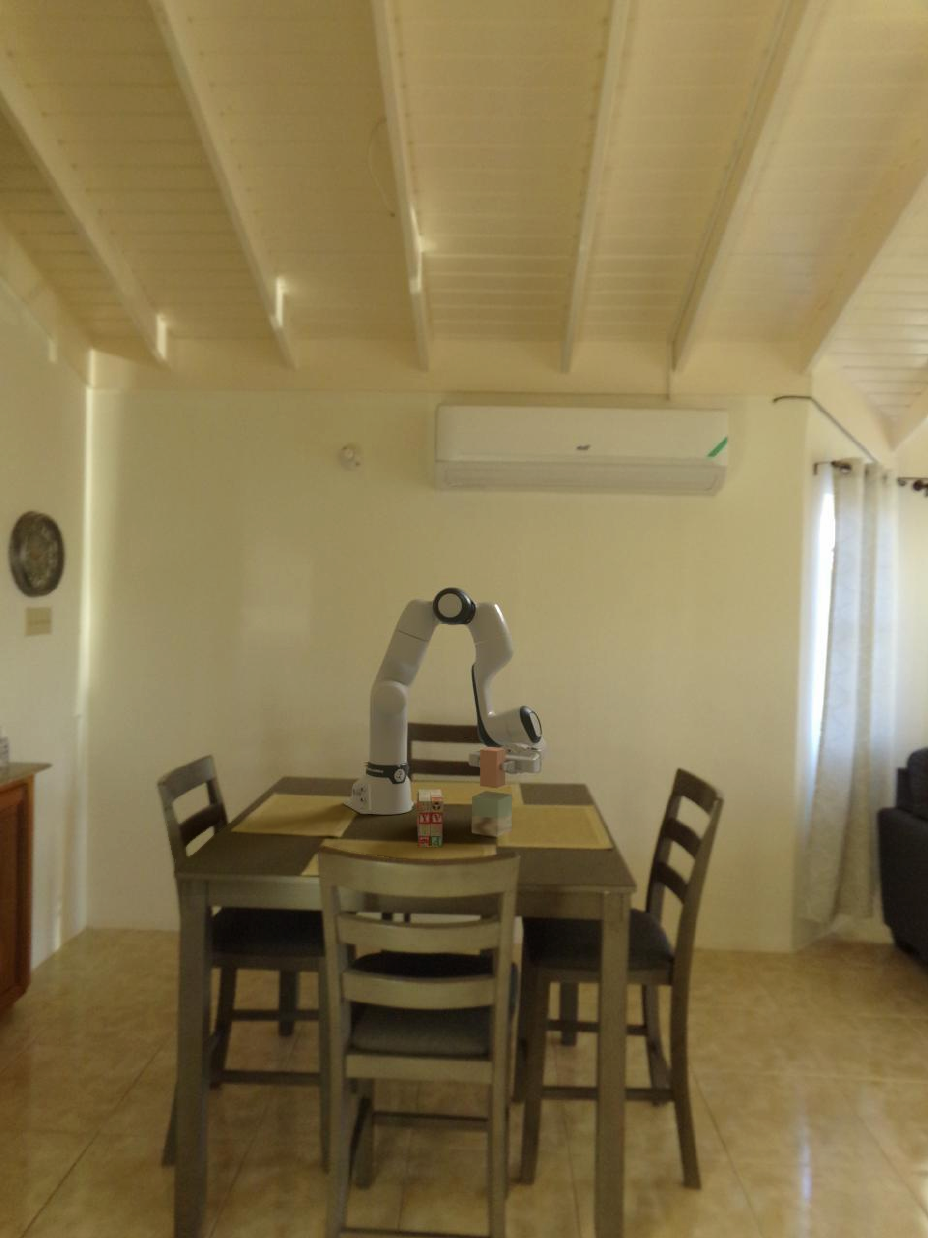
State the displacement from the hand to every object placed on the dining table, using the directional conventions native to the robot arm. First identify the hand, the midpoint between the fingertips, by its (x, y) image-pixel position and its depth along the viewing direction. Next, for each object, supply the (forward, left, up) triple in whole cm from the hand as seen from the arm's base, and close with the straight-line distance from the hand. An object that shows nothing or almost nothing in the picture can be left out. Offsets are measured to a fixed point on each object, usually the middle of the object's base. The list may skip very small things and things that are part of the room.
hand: (491, 766), depth 253 cm
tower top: (0, +1, -13) cm, 13 cm away
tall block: (0, +1, -5) cm, 6 cm away
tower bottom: (-1, +1, -18) cm, 18 cm away
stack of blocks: (-8, -15, -18) cm, 25 cm away
